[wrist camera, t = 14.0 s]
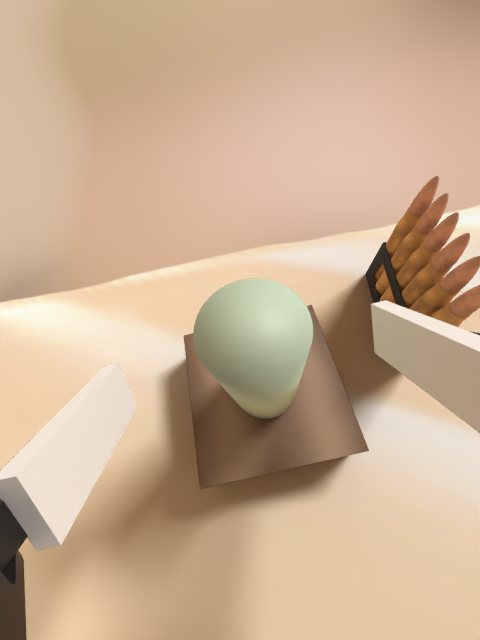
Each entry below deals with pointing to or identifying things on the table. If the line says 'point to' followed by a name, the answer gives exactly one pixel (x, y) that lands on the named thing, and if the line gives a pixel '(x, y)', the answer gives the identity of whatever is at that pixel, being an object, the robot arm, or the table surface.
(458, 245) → the ammunition clip
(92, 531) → the table surface
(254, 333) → the sage cylinder
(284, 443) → the walnut plinth
